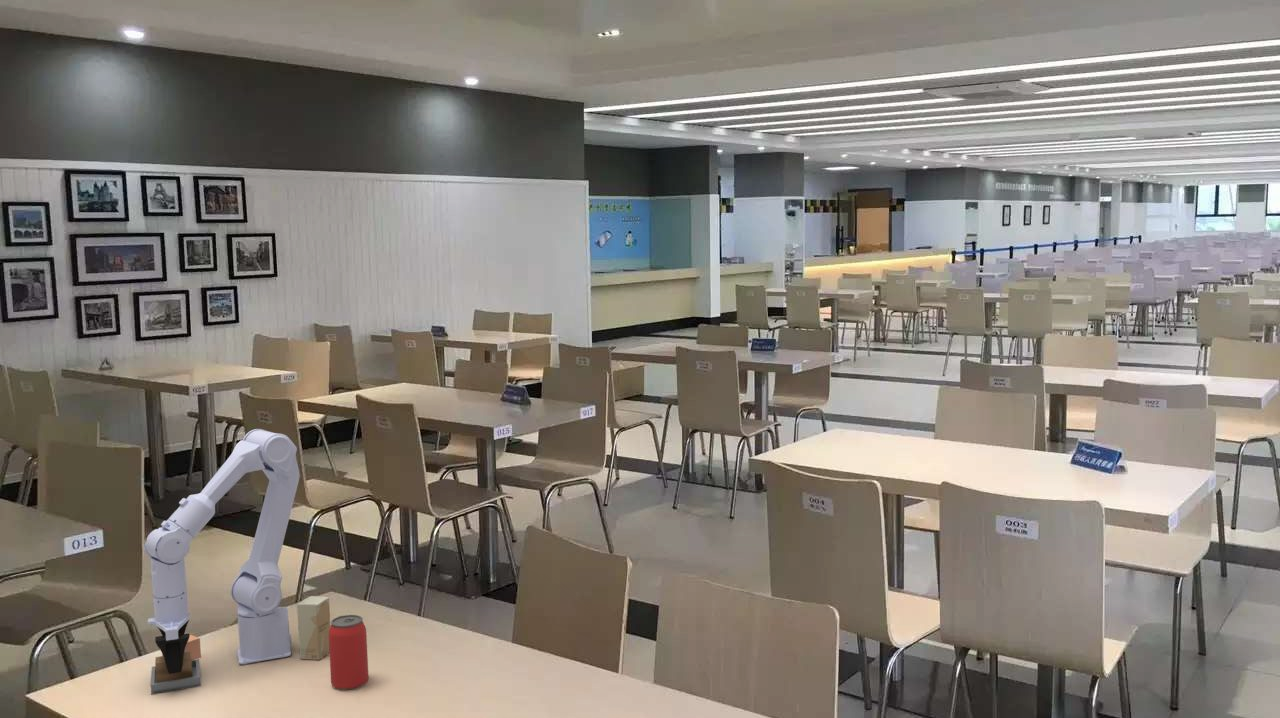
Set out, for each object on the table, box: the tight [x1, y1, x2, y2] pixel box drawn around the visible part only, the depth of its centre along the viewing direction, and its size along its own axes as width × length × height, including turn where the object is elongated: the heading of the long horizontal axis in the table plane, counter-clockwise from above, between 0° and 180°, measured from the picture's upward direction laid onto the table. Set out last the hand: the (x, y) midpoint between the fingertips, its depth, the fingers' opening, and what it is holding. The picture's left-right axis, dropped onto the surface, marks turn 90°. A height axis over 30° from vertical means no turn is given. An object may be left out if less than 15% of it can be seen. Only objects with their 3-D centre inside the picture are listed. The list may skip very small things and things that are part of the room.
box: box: [296, 595, 331, 661], centre depth 202 cm, size 5×4×11 cm
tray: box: [150, 658, 201, 695], centre depth 191 cm, size 8×9×2 cm
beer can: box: [328, 614, 370, 691], centre depth 188 cm, size 7×7×12 cm
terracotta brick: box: [161, 634, 202, 660], centre depth 201 cm, size 6×3×4 cm, turn 144°
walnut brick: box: [154, 652, 193, 683], centre depth 191 cm, size 6×3×4 cm, turn 114°
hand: (175, 664), depth 191 cm, fingers open, 7 cm apart
